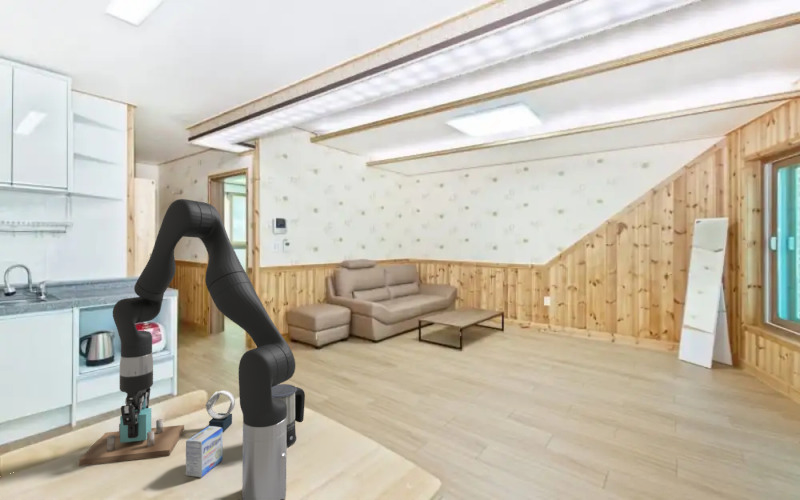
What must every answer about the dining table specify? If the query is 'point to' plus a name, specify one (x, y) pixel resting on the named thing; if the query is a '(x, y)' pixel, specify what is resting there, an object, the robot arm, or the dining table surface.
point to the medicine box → (204, 451)
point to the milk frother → (291, 407)
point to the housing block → (143, 427)
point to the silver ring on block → (221, 418)
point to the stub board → (133, 446)
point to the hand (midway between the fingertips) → (136, 432)
